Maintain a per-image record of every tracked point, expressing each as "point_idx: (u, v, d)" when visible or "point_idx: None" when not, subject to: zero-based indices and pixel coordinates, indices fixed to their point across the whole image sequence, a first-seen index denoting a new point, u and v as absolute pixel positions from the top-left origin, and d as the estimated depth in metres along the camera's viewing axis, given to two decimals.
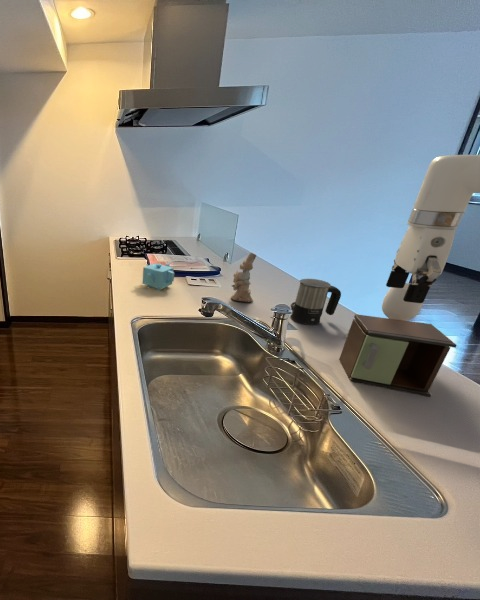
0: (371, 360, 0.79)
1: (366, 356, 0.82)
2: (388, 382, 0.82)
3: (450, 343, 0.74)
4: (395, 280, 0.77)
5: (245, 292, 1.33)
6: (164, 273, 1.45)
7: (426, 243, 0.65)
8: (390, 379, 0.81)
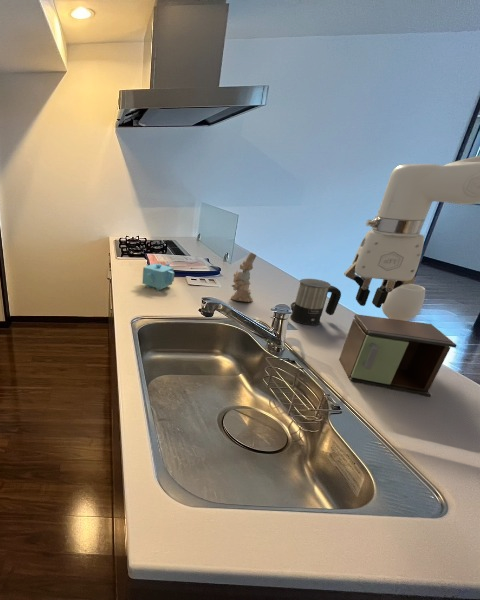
0: (371, 360, 0.79)
1: (366, 356, 0.82)
2: (388, 382, 0.82)
3: (450, 343, 0.74)
4: (375, 297, 0.75)
5: (245, 292, 1.33)
6: (164, 273, 1.45)
7: (361, 243, 0.73)
8: (390, 379, 0.81)
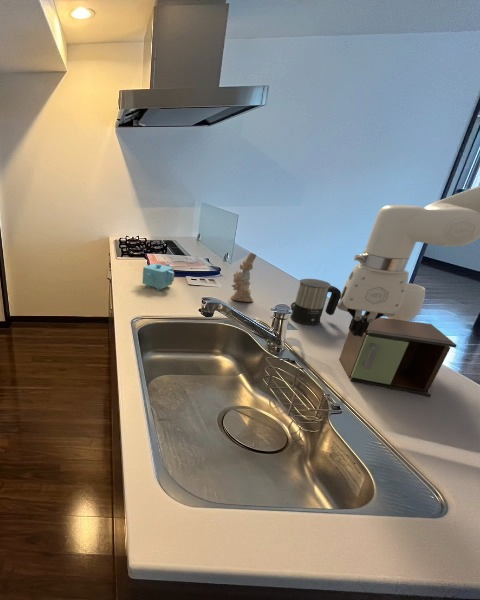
0: (371, 360, 0.79)
1: (366, 356, 0.82)
2: (388, 382, 0.82)
3: (450, 343, 0.74)
4: None
5: (245, 292, 1.33)
6: (164, 273, 1.45)
7: None
8: (390, 379, 0.81)
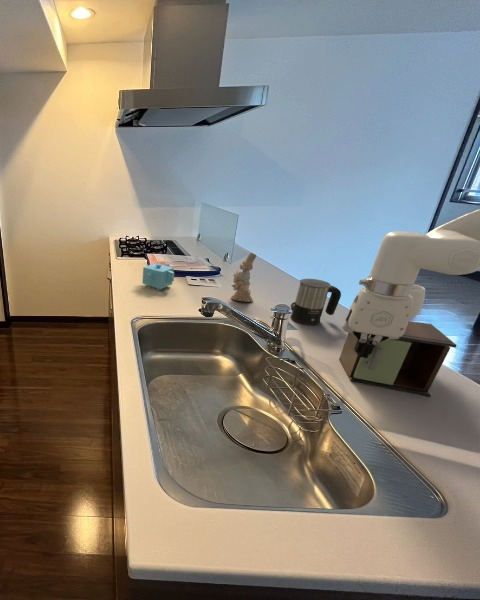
0: (374, 360, 0.79)
1: (368, 356, 0.81)
2: (390, 382, 0.81)
3: (450, 343, 0.74)
4: None
5: (245, 292, 1.33)
6: (164, 273, 1.45)
7: None
8: (392, 379, 0.81)
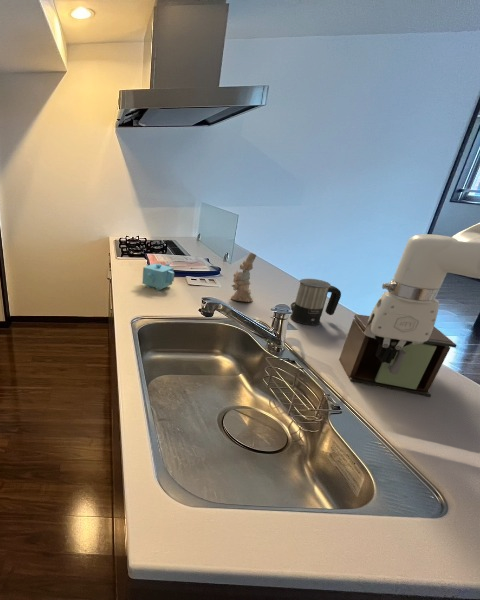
0: (397, 364, 0.77)
1: (391, 360, 0.80)
2: (414, 387, 0.80)
3: (450, 343, 0.74)
4: None
5: (245, 292, 1.33)
6: (164, 273, 1.45)
7: None
8: (416, 384, 0.79)
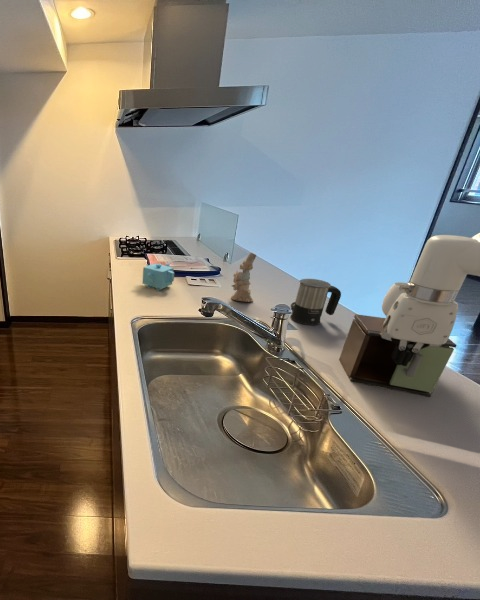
0: (413, 367, 0.76)
1: None
2: (430, 390, 0.79)
3: (450, 343, 0.74)
4: None
5: (245, 292, 1.33)
6: (164, 273, 1.45)
7: (393, 304, 0.75)
8: (432, 387, 0.78)
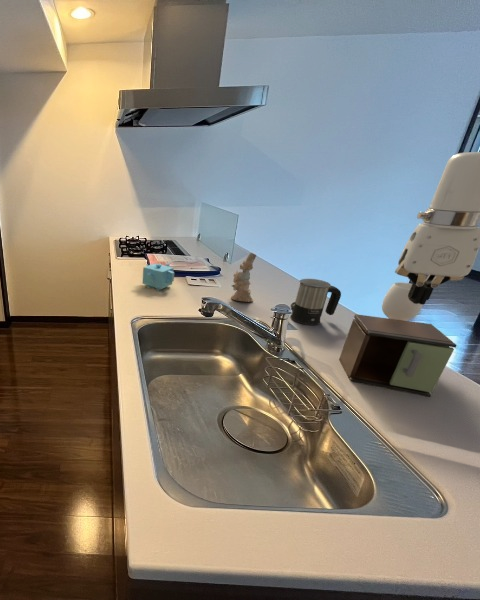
0: (413, 367, 0.76)
1: (407, 363, 0.78)
2: (430, 390, 0.79)
3: (450, 343, 0.74)
4: None
5: (245, 292, 1.33)
6: (164, 273, 1.45)
7: (410, 237, 0.69)
8: (432, 387, 0.78)
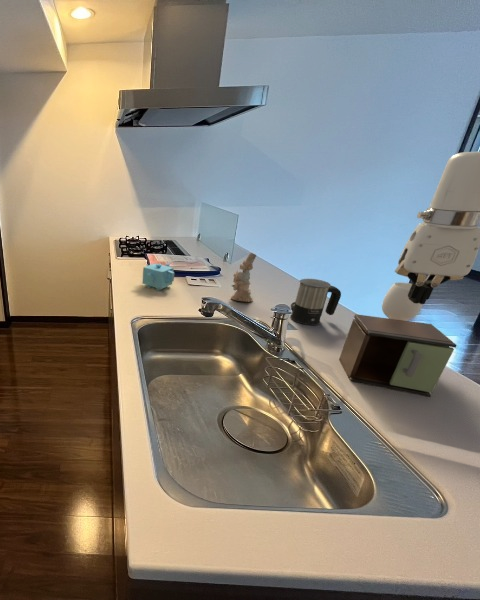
0: (413, 367, 0.76)
1: (407, 363, 0.78)
2: (430, 390, 0.79)
3: (450, 343, 0.74)
4: None
5: (245, 292, 1.33)
6: (164, 273, 1.45)
7: (410, 236, 0.69)
8: (432, 387, 0.78)
